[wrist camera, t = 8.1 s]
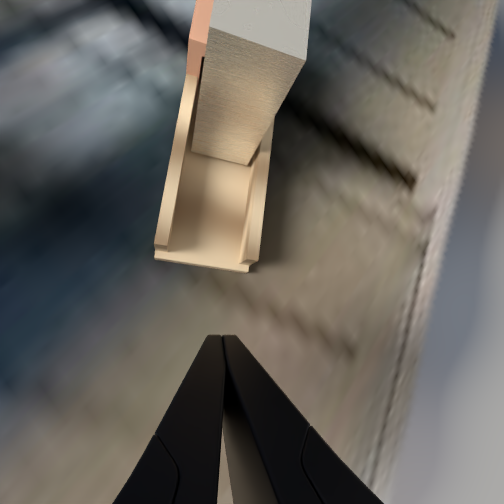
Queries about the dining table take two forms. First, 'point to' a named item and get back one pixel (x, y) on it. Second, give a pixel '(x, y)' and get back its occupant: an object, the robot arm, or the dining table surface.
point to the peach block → (198, 38)
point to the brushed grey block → (247, 73)
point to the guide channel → (211, 200)
